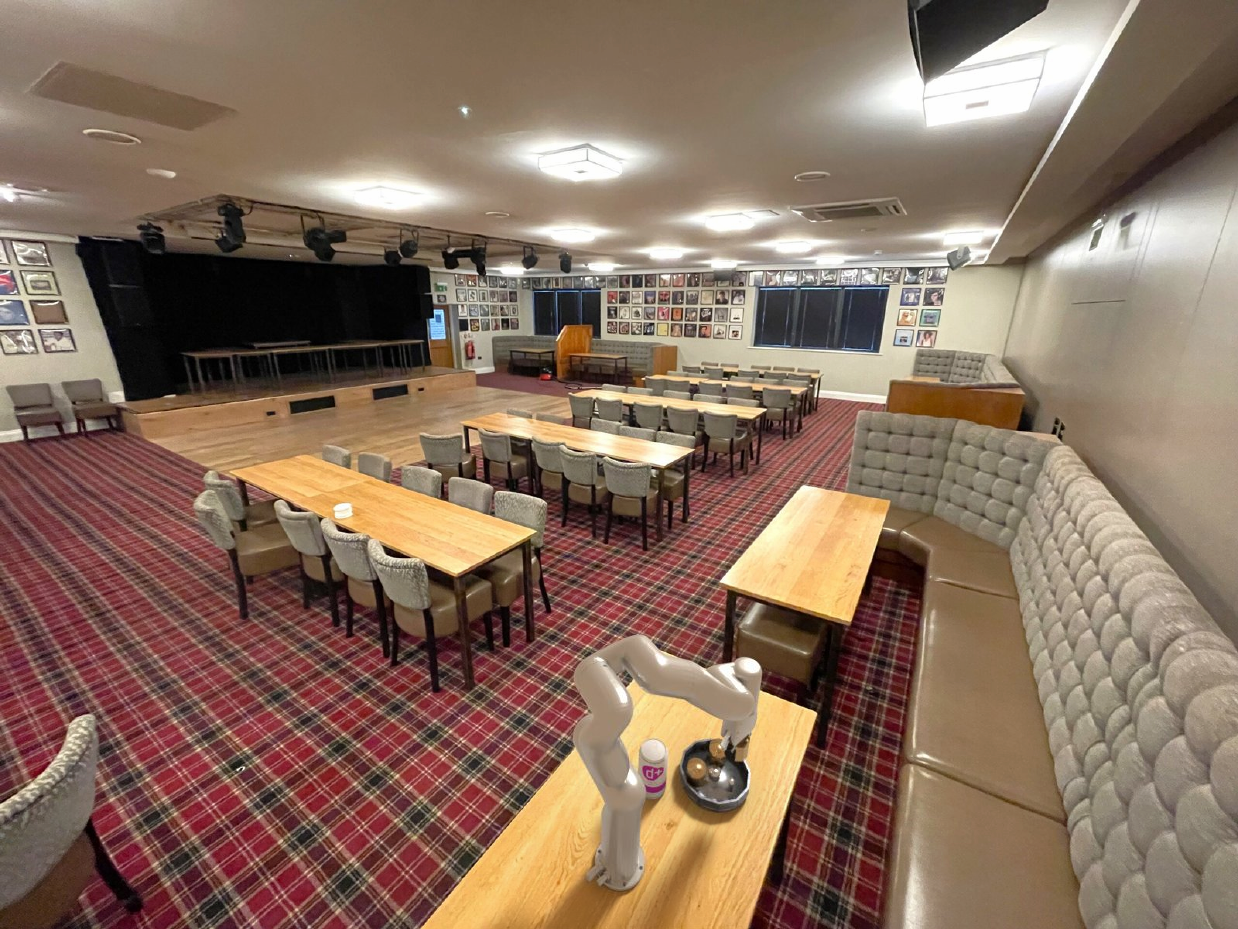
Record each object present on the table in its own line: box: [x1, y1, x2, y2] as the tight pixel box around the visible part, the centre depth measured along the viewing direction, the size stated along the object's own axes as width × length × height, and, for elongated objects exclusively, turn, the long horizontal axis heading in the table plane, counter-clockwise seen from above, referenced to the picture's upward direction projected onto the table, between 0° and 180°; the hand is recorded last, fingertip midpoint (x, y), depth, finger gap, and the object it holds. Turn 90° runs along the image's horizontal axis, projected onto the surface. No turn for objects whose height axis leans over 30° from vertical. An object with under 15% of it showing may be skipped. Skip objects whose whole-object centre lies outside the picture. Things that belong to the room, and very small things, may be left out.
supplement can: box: [637, 737, 669, 800], centre depth 140 cm, size 8×8×15 cm
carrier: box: [678, 738, 752, 813], centre depth 145 cm, size 20×20×6 cm
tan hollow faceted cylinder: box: [729, 736, 750, 762], centre depth 135 cm, size 5×5×5 cm
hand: (736, 751), depth 136 cm, fingers closed on tan hollow faceted cylinder, 5 cm apart
